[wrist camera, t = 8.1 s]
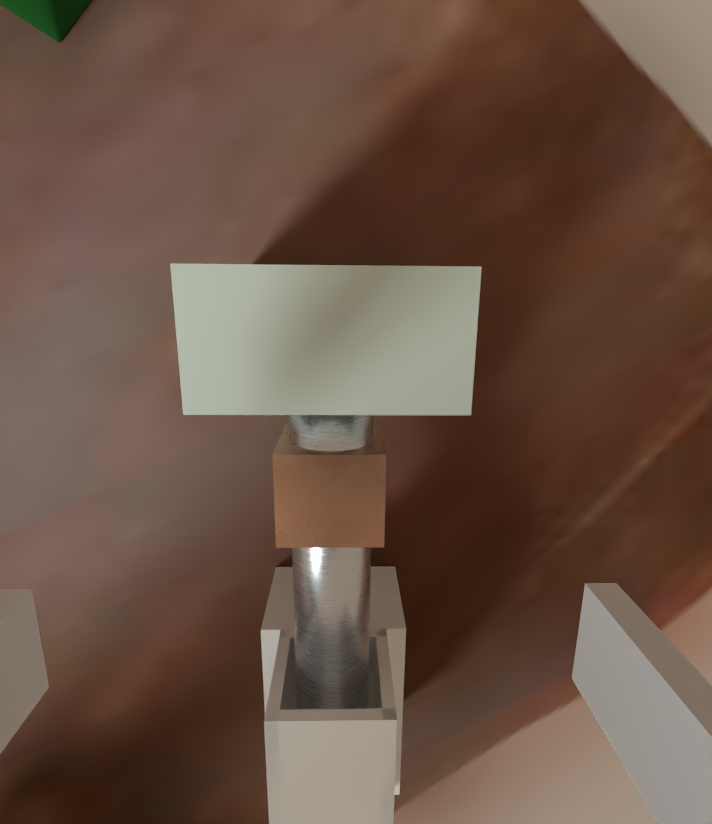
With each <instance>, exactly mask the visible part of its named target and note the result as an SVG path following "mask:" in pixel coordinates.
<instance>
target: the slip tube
mask: <svg viewBox="0 0 712 824" xmlns="http://www.w3.org/2000/svg"><path fill="white" fill-rule="evenodd" d="M386 458H387V455H386V450H385V446H384V442H383V438H382V434H381V430H380V426H379V423H373V415H288V423H286V424H285V426H284V428H283V431H282V433H281V436H280V438H279V440H278V443H277V445H276V448H275V450H274V452H273V481H274V508H275V534H276V548H292V564H293V599H294V634H295V669H296V704H297V710H298V709H368V689H369V634H370V579H371V547H384V535H385V497H386Z"/></svg>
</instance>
